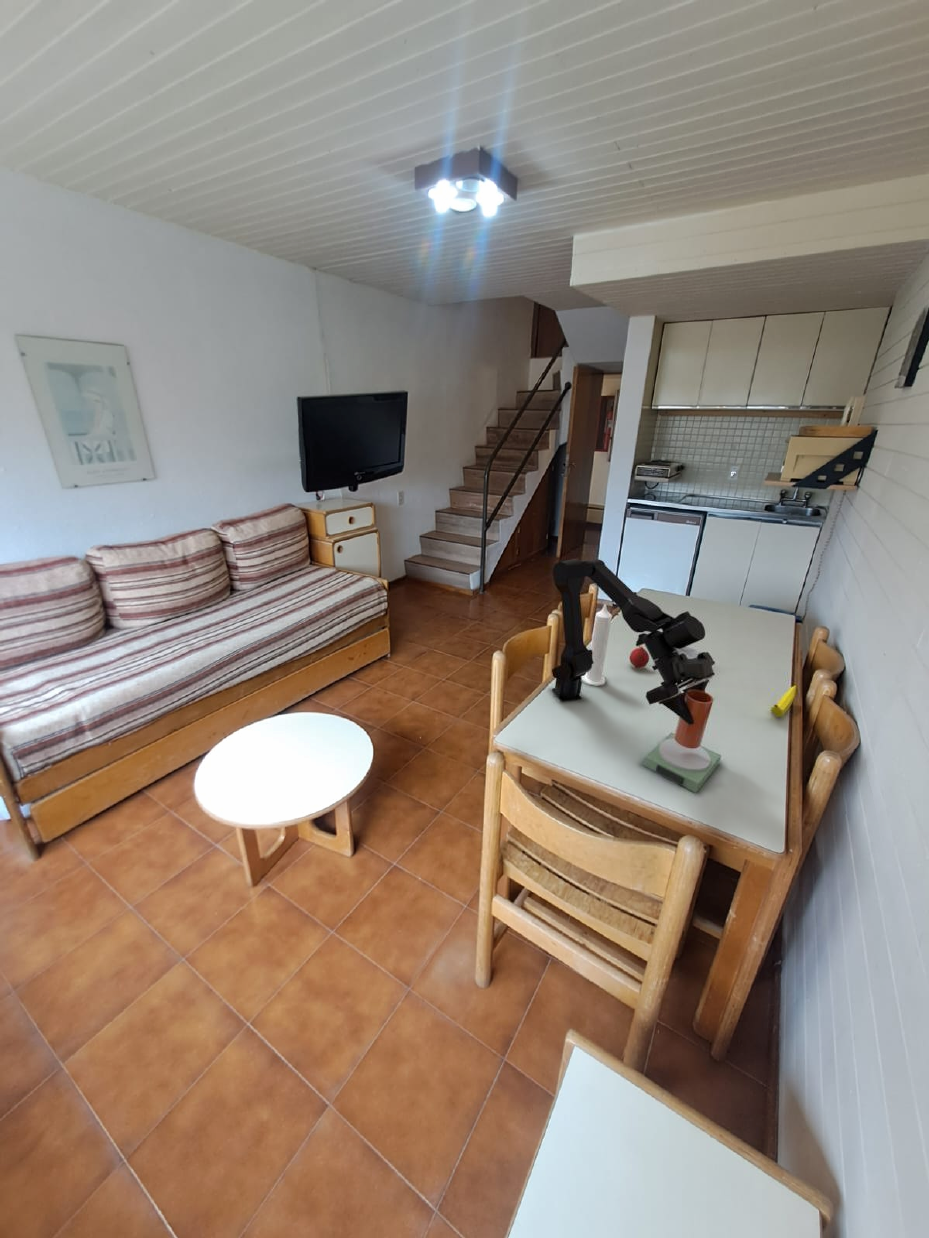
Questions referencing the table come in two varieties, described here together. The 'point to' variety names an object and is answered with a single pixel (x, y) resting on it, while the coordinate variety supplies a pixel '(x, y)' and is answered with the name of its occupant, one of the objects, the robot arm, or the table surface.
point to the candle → (598, 648)
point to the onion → (639, 657)
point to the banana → (784, 703)
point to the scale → (682, 763)
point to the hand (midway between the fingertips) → (699, 719)
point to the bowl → (688, 652)
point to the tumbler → (694, 719)
